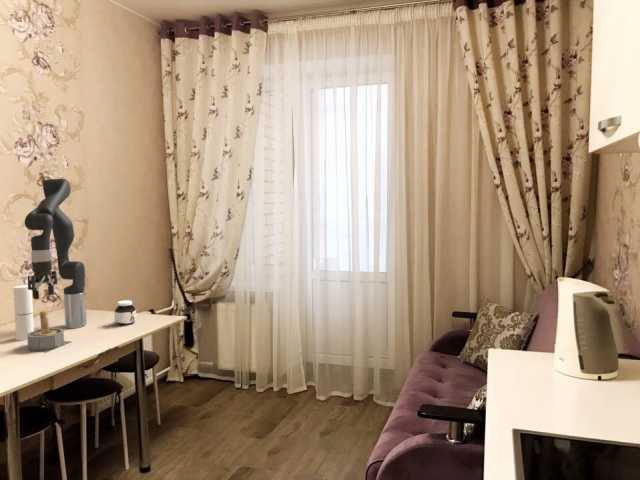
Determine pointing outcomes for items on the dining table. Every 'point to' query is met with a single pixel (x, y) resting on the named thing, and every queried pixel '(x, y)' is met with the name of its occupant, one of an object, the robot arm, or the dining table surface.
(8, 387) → the dining table surface
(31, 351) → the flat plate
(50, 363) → the dining table surface
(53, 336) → the grey octagonal bowl
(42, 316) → the wick
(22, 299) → the cylindrical container
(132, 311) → the spread jar
